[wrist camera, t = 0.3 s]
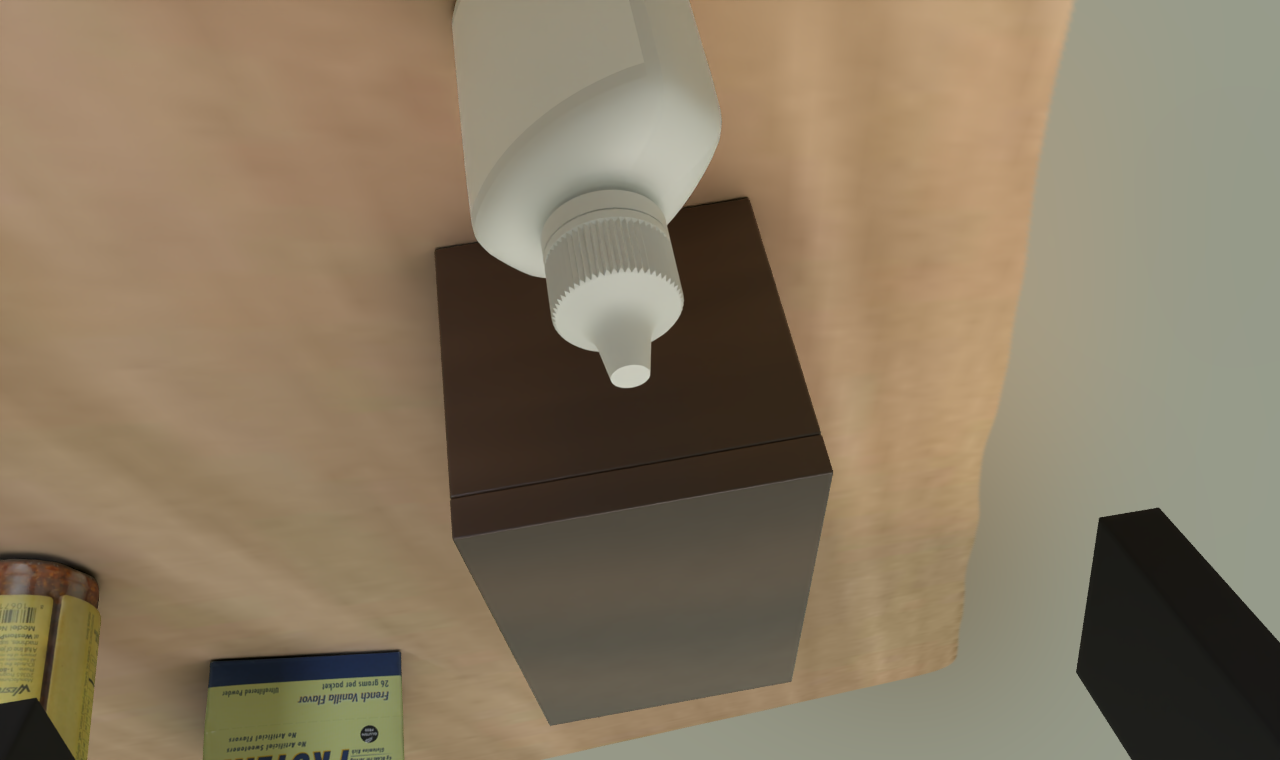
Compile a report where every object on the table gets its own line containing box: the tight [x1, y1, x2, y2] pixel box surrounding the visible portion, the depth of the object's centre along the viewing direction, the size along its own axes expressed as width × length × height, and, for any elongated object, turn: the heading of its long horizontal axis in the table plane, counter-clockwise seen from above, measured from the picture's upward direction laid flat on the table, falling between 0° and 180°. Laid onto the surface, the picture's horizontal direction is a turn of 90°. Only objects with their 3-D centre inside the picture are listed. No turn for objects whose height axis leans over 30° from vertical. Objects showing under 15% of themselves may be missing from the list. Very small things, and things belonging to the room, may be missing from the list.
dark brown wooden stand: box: [435, 198, 833, 726], centre depth 36 cm, size 18×10×10 cm, turn 4°
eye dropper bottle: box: [452, 0, 722, 388], centre depth 21 cm, size 4×6×12 cm
